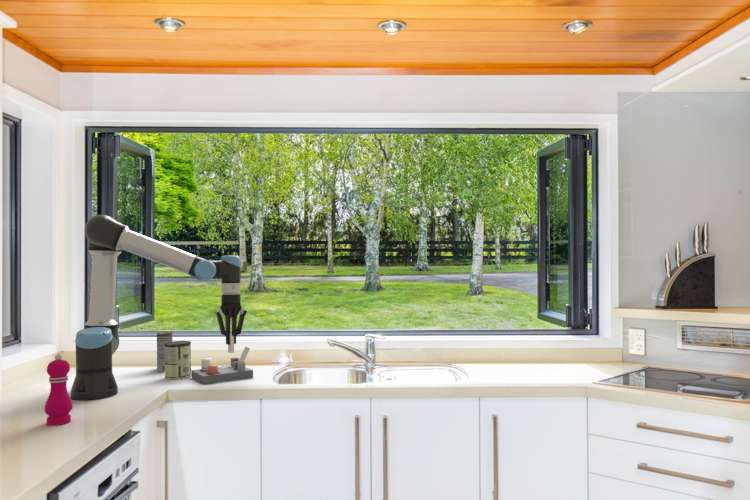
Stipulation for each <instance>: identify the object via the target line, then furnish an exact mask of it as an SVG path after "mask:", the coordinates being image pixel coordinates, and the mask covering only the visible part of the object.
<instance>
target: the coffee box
mask: <svg viewBox="0 0 750 500" xmlns="http://www.w3.org/2000/svg"><path fill="white" fill-rule="evenodd" d="M173 341H174V340H173V331H157V333H156V371H157V373H158V372H165V345H164V343H167V342H173Z"/></svg>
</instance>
